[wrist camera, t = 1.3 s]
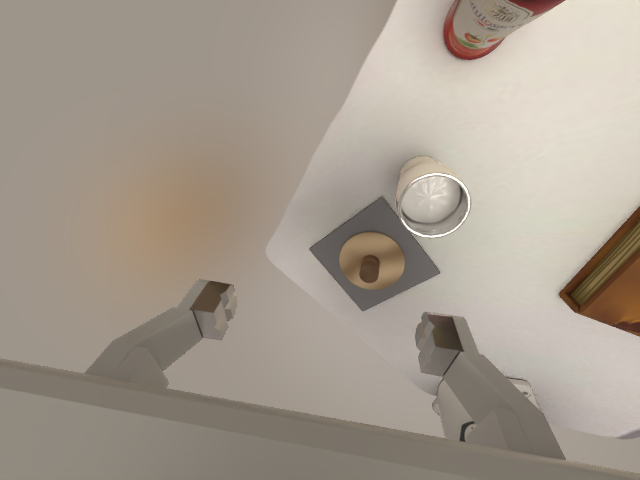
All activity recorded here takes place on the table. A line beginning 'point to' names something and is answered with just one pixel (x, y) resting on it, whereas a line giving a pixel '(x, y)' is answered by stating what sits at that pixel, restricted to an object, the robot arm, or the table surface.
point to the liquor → (488, 23)
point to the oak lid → (372, 260)
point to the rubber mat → (385, 222)
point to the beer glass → (431, 198)
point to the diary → (611, 281)
